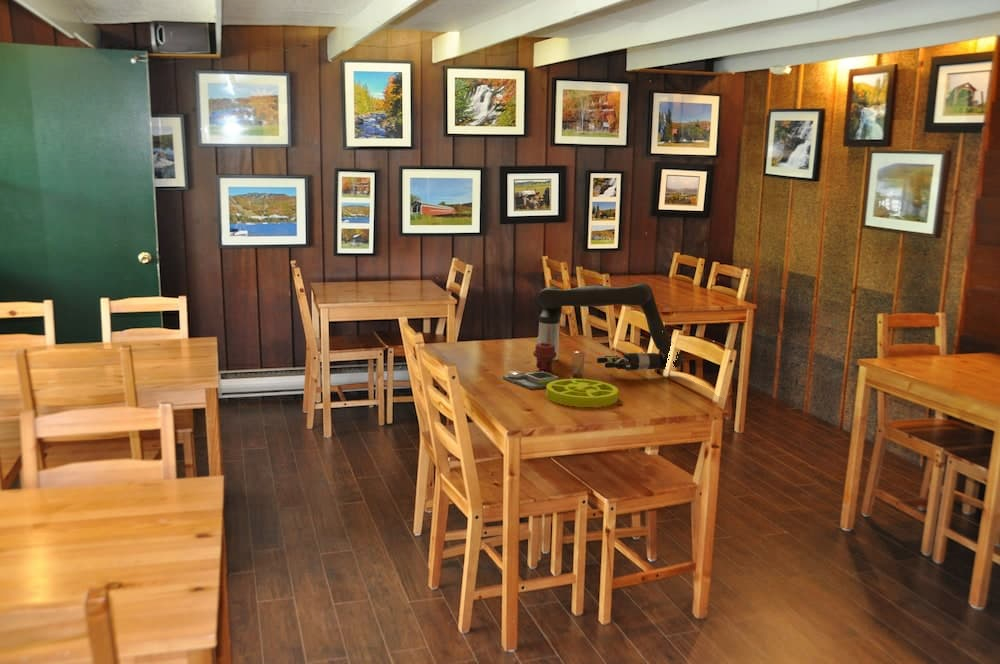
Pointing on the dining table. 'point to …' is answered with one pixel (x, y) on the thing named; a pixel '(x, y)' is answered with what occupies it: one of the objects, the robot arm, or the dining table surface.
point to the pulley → (581, 392)
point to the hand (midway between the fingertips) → (601, 362)
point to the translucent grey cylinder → (578, 365)
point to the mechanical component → (544, 356)
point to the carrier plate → (531, 379)
